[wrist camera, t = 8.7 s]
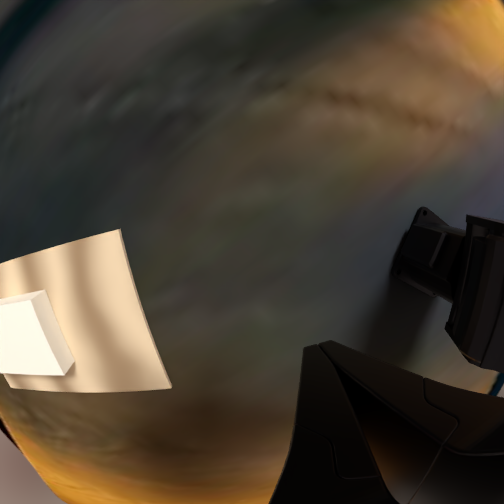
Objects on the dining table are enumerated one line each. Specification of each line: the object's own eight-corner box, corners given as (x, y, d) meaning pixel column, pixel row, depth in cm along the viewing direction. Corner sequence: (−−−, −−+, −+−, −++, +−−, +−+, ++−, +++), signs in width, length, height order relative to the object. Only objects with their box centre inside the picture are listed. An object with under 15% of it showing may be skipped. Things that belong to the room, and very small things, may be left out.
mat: (120, 228, 19) (118, 229, 18) (172, 385, 22) (171, 388, 22) (-36, 276, 18) (-38, 277, 17) (12, 385, 21) (11, 387, 21)
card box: (30, 299, 16) (-36, 312, 16) (64, 375, 18) (-9, 371, 17) (45, 289, 19) (-23, 303, 18) (75, 360, 20) (2, 360, 20)
